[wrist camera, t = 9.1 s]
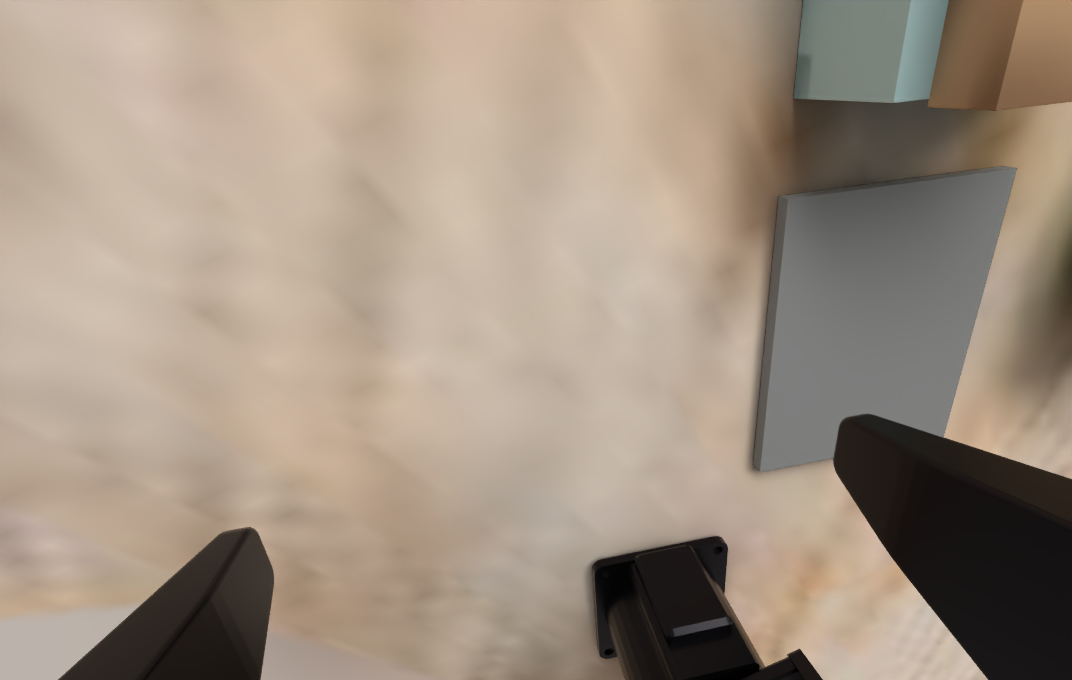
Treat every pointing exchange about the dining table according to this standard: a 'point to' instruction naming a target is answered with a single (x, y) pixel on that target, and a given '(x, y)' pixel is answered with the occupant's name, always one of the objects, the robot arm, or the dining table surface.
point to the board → (1004, 55)
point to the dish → (868, 49)
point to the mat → (873, 306)
